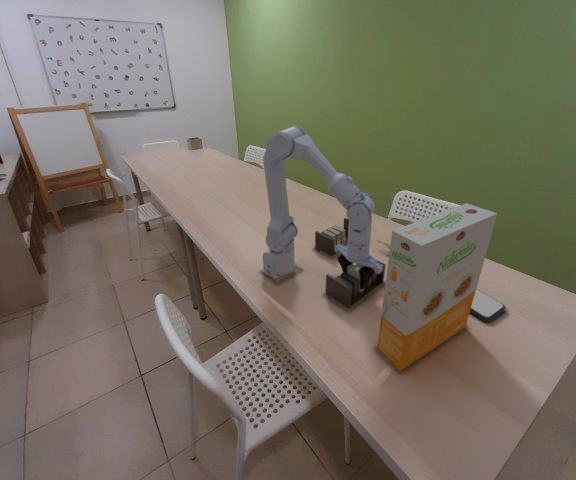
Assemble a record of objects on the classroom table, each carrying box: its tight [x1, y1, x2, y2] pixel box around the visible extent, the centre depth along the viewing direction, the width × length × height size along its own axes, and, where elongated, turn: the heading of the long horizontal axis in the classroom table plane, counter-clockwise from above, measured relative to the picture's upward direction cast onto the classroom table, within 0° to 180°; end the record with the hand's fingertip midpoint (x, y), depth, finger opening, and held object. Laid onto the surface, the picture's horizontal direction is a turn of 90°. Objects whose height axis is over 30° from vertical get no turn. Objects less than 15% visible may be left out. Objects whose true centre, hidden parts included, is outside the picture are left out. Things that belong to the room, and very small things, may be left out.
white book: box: [347, 263, 364, 293], centre depth 83 cm, size 2×5×6 cm, turn 40°
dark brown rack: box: [314, 217, 349, 257], centre depth 106 cm, size 16×8×7 cm, turn 130°
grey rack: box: [325, 258, 387, 309], centre depth 83 cm, size 16×8×7 cm, turn 130°
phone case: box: [469, 288, 506, 323], centre depth 80 cm, size 9×2×16 cm
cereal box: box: [377, 202, 498, 372], centre depth 63 cm, size 22×6×30 cm, turn 120°
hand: (355, 282), depth 84 cm, fingers closed on white book, 5 cm apart
